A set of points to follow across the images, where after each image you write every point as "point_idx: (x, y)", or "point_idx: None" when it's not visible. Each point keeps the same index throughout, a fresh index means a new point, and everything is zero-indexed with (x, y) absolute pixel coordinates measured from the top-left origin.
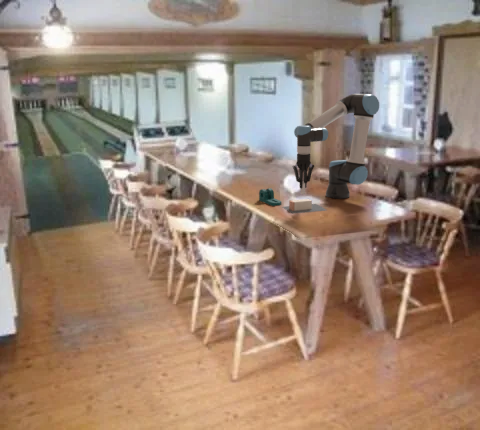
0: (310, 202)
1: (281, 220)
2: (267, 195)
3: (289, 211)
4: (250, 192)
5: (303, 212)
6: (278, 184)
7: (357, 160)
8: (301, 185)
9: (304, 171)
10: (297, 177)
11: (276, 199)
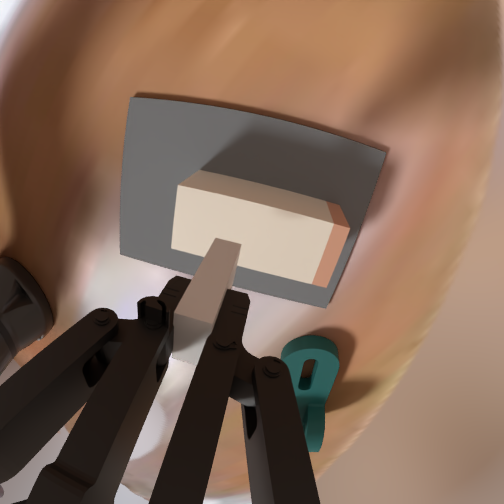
0: (193, 183)
1: (493, 105)
2: (309, 418)
3: (365, 204)
4: None
5: (304, 126)
6: (153, 453)
7: None
8: (231, 316)
9: (107, 484)
10: (298, 432)
11: None
